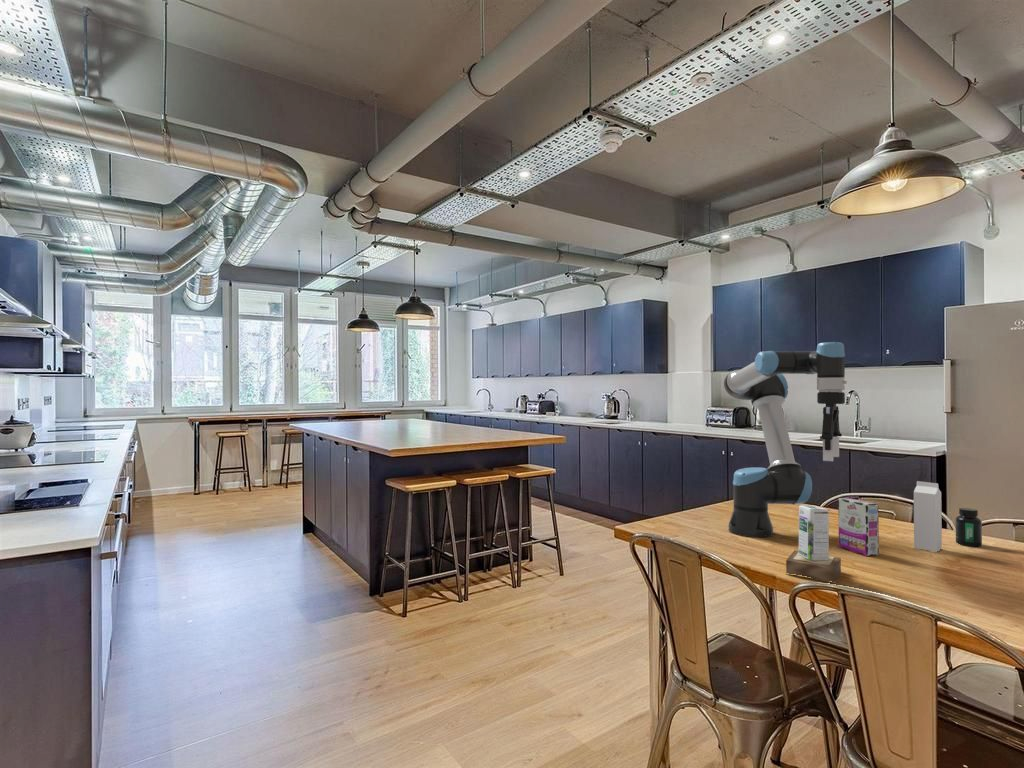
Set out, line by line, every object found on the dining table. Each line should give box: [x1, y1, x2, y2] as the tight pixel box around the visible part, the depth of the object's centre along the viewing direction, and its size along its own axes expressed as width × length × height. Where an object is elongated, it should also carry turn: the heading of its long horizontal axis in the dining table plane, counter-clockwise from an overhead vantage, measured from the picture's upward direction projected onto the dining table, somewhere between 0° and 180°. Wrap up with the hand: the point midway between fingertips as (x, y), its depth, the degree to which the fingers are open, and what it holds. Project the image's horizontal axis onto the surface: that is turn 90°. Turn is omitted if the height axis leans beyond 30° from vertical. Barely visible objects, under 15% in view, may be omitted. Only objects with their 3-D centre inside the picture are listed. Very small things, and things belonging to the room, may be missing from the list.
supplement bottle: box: [955, 507, 983, 548], centre depth 184 cm, size 7×7×12 cm
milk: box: [913, 480, 943, 553], centre depth 179 cm, size 6×6×22 cm
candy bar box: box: [838, 497, 880, 557], centre depth 176 cm, size 11×5×16 cm, turn 14°
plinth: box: [785, 550, 842, 582], centre depth 155 cm, size 12×12×4 cm
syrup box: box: [798, 504, 830, 561], centre depth 155 cm, size 6×6×14 cm
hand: (831, 458), depth 171 cm, fingers open, 13 cm apart
